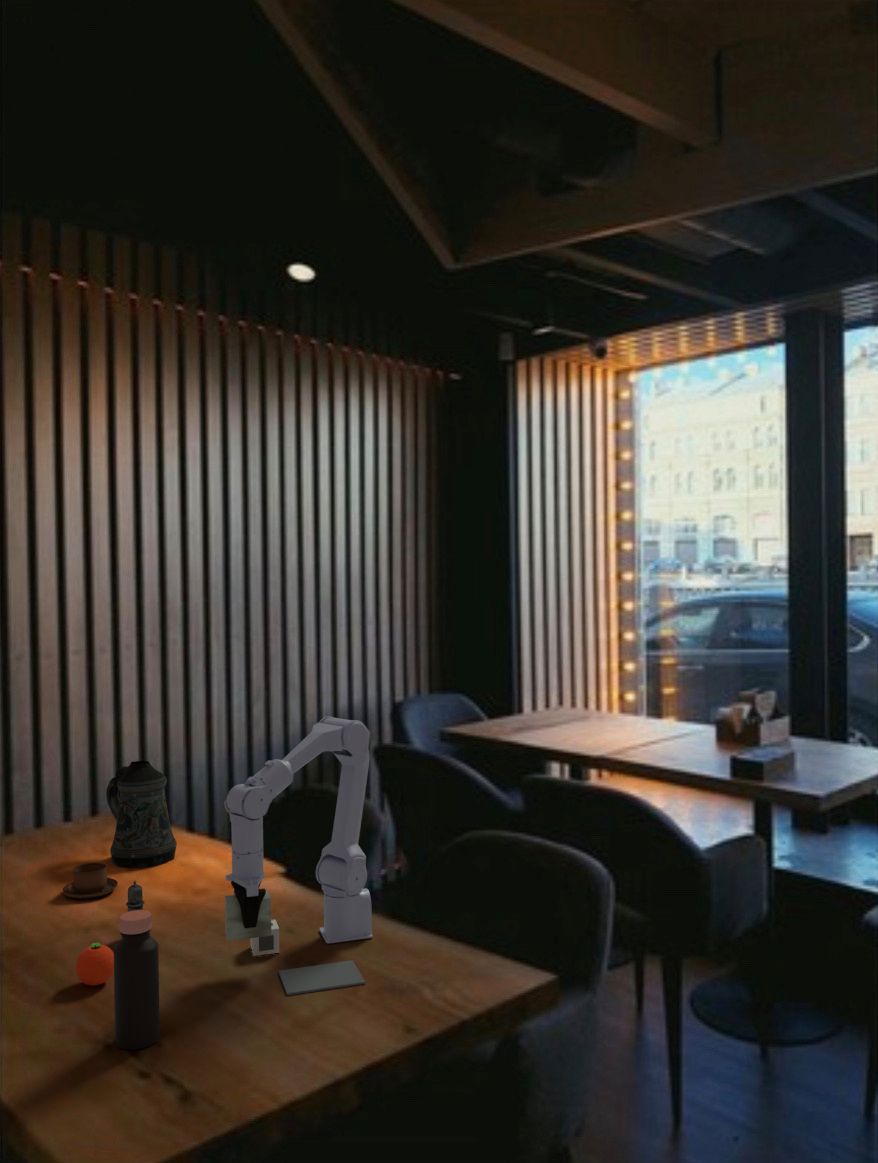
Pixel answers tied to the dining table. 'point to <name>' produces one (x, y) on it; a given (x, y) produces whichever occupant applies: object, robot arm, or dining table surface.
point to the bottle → (136, 982)
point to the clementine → (95, 964)
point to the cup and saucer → (90, 881)
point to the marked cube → (266, 942)
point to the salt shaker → (135, 897)
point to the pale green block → (235, 922)
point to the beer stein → (140, 817)
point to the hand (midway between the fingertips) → (248, 922)
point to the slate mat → (320, 977)
